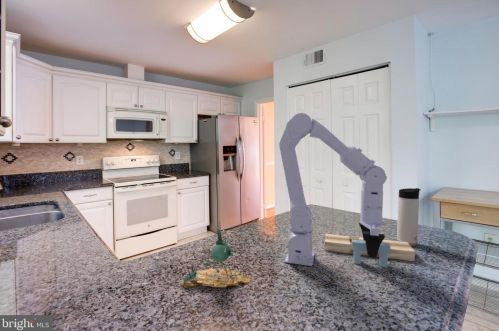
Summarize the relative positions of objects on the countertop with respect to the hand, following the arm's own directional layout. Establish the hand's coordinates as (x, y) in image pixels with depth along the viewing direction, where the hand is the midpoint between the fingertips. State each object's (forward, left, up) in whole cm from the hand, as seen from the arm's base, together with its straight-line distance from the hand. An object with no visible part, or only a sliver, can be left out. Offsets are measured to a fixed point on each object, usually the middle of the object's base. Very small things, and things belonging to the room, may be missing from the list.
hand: (370, 251), depth 74 cm
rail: (+10, 0, -4) cm, 11 cm away
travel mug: (+22, -15, -4) cm, 27 cm away
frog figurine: (-23, +39, -4) cm, 45 cm away
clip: (0, 0, -4) cm, 4 cm away
